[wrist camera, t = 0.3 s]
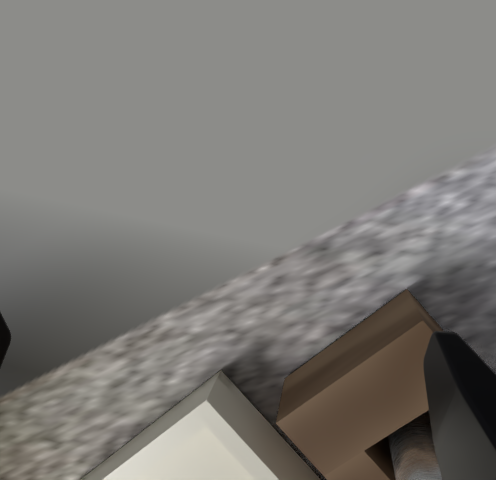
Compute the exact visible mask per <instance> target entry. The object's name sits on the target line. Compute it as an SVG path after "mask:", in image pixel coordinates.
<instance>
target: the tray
mask: <svg viewBox="0 0 496 480" xmlns="http://www.w3.org/2000/svg"><path fill="white" fill-rule="evenodd" d="M81 480H321V479H320V478H319V477H318V476H317V475H316V474H315V473H314V472H313V471H312V470H311V468H310V467H309V466H308V465H307V464H306V463H305V462H304V461H303V460H302V459H301V458H300V456H299V455H298V454H297V453H296V452H295V451H294V450H293V449H292V448H291V447H290V445H289V444H288V443H287V442H286V441H285V440H284V439H283V438H282V437H281V436H280V434H279V433H278V432H277V431H276V430H275V429H274V428H273V427H272V426H271V425H270V423H269V422H268V421H267V420H266V419H265V418H264V417H263V416H262V415H261V414H260V412H259V411H258V410H257V409H256V408H255V407H254V406H253V405H252V404H251V403H250V401H249V400H248V399H247V398H246V397H245V396H244V395H243V394H242V393H241V392H240V390H239V389H238V388H237V387H236V386H235V385H234V384H233V383H232V382H231V381H230V379H229V378H228V377H227V376H226V375H225V374H224V373H223V372H222V371H221V370H220V371H219V372H218V373H216V374H215V375H214V376H213V377H211V378H210V379H209V380H207V381H206V382H205V383H204V384H202V385H201V386H200V387H199V388H197V389H196V390H195V391H193V392H192V393H191V394H190V395H188V396H187V397H186V398H184V399H183V400H182V401H181V402H179V403H178V404H177V405H175V406H174V407H173V408H172V409H170V410H169V411H168V412H166V413H165V414H164V415H163V416H161V417H160V418H159V419H158V420H156V421H155V422H154V423H152V424H151V425H150V426H149V427H147V428H146V429H145V430H143V431H142V432H141V433H140V434H138V435H137V436H136V437H134V438H133V439H132V440H131V441H129V442H128V443H127V444H125V445H124V446H123V447H122V448H120V449H119V450H118V451H117V452H115V453H114V454H113V455H111V456H110V457H109V458H108V459H106V460H105V461H104V462H102V463H101V464H100V465H99V466H97V467H96V468H95V469H93V470H92V471H91V472H90V473H88V474H87V475H86V476H84V477H83V478H82V479H81Z"/></svg>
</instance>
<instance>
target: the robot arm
mask: <svg viewBox="0 0 496 480" xmlns="http://www.w3.org/2000/svg"><path fill="white" fill-rule="evenodd" d="M10 341H11V333H10V330H9V328H8V326H7V324H6V322H5V320H4V318H3V316H2V314H1V312H0V368H1V365H2V363H3V360H4V358H5V355H6V353H7V350H8V347H9V345H10ZM423 369H424V377H425V385H426V392H427V400H428V407H429V415H430V423H431V430H432V437H433V443H434V448H435V453H436V457H437V461H438V465H439V469H440V473H441V477H442V480H496V373H495V372H494V371H493V370H492V369H491V368H490V367H489V366H488V365H487V364H486V363H485V362H484V361H483V360H482V359H481V358H480V357H479V356H478V355H477V354H476V353H475V352H474V351H473V350H472V348H471V347H470V346H469V345H468V344H467V343H466V342H465V341H464V340H463V339H462V338H461V337H460V336H459V335H458V334H456V333H454V332H445V331H435V332H433V333H432V335H431V337H430V341H429V344H428V347H427V350H426V353H425V356H424V361H423Z"/></svg>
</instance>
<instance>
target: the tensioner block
mask: <svg viewBox="0 0 496 480" xmlns="http://www.w3.org/2000/svg"><path fill="white" fill-rule="evenodd" d="M435 331H443V329H442V328H441V327H440V326H439V325H438V324H437V323H436V321H435V320H434V319H433V318H432V317H431V316H430V315H429V314H428V312H427V311H426V310H425V309H424V308H423V307H422V306H421V304H420V303H419V302H418V301H417V300H416V299H415V298H414V296H413V295H412V294H411V293H410V292H409V291H408V290H407V289H406V290H405V291H404V292H402V293H401V294H399V295H398V296H397V297H395V298H394V299H393V300H391V301H390V302H389V303H387V304H386V305H384V306H383V307H382V308H380V309H379V310H378V311H376V312H375V313H373V314H372V315H371V316H369V317H368V318H367V319H365V320H364V321H363V322H361V323H360V324H358V325H357V326H356V327H354V328H353V329H352V330H350V331H349V332H348V333H346V334H345V335H343V336H342V337H341V338H339V339H338V340H337V341H335V342H334V343H333V344H331V345H330V346H328V347H327V348H326V349H324V350H323V351H322V352H320V353H319V354H318V355H316V356H315V357H313V358H312V359H311V360H309V361H308V362H307V363H305V364H304V365H302V366H301V367H300V368H298V369H297V370H296V371H294V372H293V373H292V374H290V375H289V376H287V377H286V378H285V380H284V385H283V390H282V395H281V400H280V405H279V410H278V415H277V420H276V424H277V425H278V426H279V427H280V429H281V430H282V431H283V432H284V433H285V434H286V435H287V436H288V437H289V438H290V440H291V441H292V442H293V443H294V444H295V445H296V446H297V447H298V448H299V449H300V451H301V452H302V453H303V454H304V455H305V456H306V457H307V458H308V459H309V460H310V462H311V463H312V464H313V465H314V466H315V467H316V468H317V469H318V470H319V471H320V473H321V474H322V475H323V476H324V477H325V478H326V479H327V480H396V478H395V473H394V468H393V462H392V457H391V451H390V446H389V441H388V435H390V434H391V433H393V432H395V431H396V430H398V429H399V428H401V427H402V426H404V425H406V424H407V423H409V422H410V421H412V420H413V419H415V418H417V417H418V416H420V415H421V414H423V413H425V412H426V411H429V407H428V400H427V392H426V385H425V377H424V369H423V361H424V356H425V353H426V350H427V347H428V344H429V341H430V337H431V335H432V333H433V332H435Z"/></svg>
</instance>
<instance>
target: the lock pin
mask: <svg viewBox="0 0 496 480" xmlns="http://www.w3.org/2000/svg"><path fill="white" fill-rule="evenodd" d="M388 441H389V446H390V451H391V457H392V462H393V468H394V473H395V478H396V480H442V477H441V473H440V469H439V465H438V461H437V457H436V453H435V448H434V443H433V437H432V430H431V423H430V415H429V411H426V412H425V413H423V414H421V415H420V416H418V417H417V418H415V419H413V420H412V421H410V422H409V423H407V424H406V425H404V426H402V427H401V428H399V429H398V430H396V431H395V432H393V433H391V434H390V435H388Z"/></svg>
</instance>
